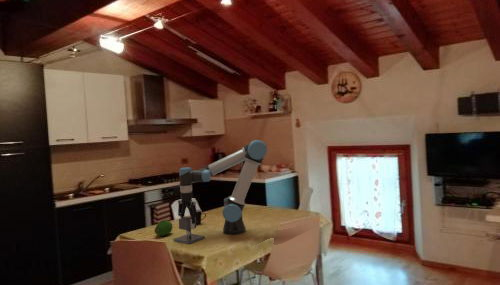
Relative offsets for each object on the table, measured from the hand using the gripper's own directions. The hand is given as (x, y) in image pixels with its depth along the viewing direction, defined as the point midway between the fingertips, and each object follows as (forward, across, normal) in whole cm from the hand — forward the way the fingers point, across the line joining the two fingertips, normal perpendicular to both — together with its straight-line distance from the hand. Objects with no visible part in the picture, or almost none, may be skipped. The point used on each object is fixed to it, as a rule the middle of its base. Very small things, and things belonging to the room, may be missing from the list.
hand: (188, 227), depth 240 cm
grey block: (0, 0, 0) cm, 1 cm away
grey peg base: (+8, 0, 0) cm, 8 cm away
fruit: (+8, -24, -1) cm, 25 cm away
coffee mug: (+8, -24, +31) cm, 40 cm away
